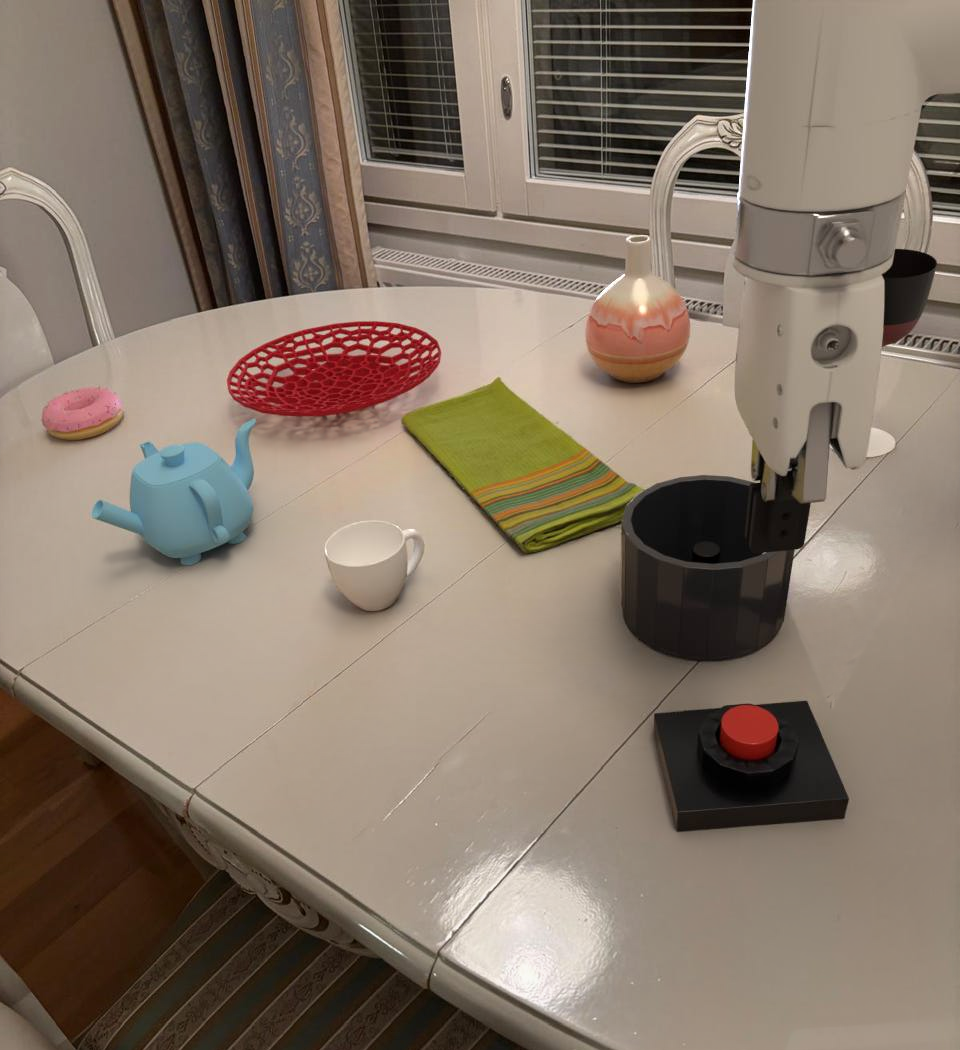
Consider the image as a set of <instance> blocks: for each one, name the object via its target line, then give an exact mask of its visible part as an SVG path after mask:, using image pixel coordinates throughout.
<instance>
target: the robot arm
mask: <svg viewBox="0 0 960 1050" xmlns="http://www.w3.org/2000/svg"><path fill="white" fill-rule="evenodd" d="M751 11H752V12H751V23H750V24H751V25H750V34H749V35H750V36H749V51H748V63H747V75H746V87H745V88H746V89H745V99H744V113H743V114H744V115H743V126H742V142H741V152H740V153H741V155H740V166H739V167H740V168H739V183H738V192H737V199H736V200H737V202H736V214H735V227H734V239H733V255H732V266H733V268H734V269H735V271H736V272H737V273H739V274H740V275H742V276H743V277H745V279H744V283H743V284H744V285H743V286H744V287H743V293H742V301H741V307H740V316H739V323H738V331H737V342H736V352H735V362H734V363H735V365H734V400H735V404H736V408H737V411H738V413H739V415H740V417H741V420H742V421H743V423H744V425H745V428H746V429H747V431H748V433H749V435H750V437H751V440H752V442H751V459H750V475H751V479H752V482H755V483H750V489H749V498H748V508H747V517H746V526H745V537H746V540H747V542H749V546H750V549H751V551H752V552H753V553H765V552H776V551H787V550H795V551H797V550H800V549H802V548H803V547H804V546H805V541H806V537H807V536H806V535H807V531H808V530H807V529H808V523H809V517H810V511H811V504H812V503H813V504H814V503H825V501H826V499H827V489H828V478H829V477H828V475H829V464H830V463H829V462H830V461H829V460H830V449H831V448H830V445H831V446H832V448H833V449H832V451H834V453H835V454H836V455H837V457H838V459H839V460H840V462H841V463H842V465H843V467H845V469H846V470H847V469H850V470H859V469H860V468H861V467H862V466H863V465H864V463H865V462H866V460H867V457H866V456H867V451H868V446H869V440H870V433H871V427H873V419H874V413H875V406H876V398H877V393H878V392H877V391H878V383H879V376H880V369H881V361H882V360H881V359H882V349H883V347H882V339H883V324H884V279H883V277H882V275H881V274H883V273H885V272H886V271H887V270H888V269H889V268H890V267H891V265H892V263H893V258H894V251H895V249H896V246H897V243H898V242H897V241H898V237H899V230H900V225H901V219H902V214H903V209H904V204H905V198H906V194H907V187H908V181H909V177H910V173H911V172H910V171H911V165H912V160H913V156H914V149H915V146H916V145H915V144H916V138H917V134H918V128H919V123H920V118H921V113H922V108H923V104H924V103H925V101H927V100H928V99H929V98H930V97H932V96H935V95H948V94H960V0H752V10H751ZM757 481H759V482H757Z"/></svg>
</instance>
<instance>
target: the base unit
mask: <svg viewBox="0 0 960 1050" xmlns="http://www.w3.org/2000/svg"><path fill="white" fill-rule="evenodd" d="M740 705H753V706H758V707H761V708H763V709H765V710H767V711H768V712H770V713H771V714H772V715H773V716H774V717H775V718H776V720H777V722H778V727H779V728H778V735H777V741H776V746H775V749H774V751H773V752H772V753H771V754H770V755H768V756H767V757H765V758H762V759H758V760H744V759H741V758H738V757H734V756H732V755H731V754H729V753H728V752H727V751H726V750H725V749H724V748H723V746H722V745H721V742H720V729H721V720H722V717H723V715H724V714H725V713H726V712H727V711H728V710H729V709H731V708H733V707H736V706H740ZM818 725H819V724H818V722H817V720H816V718H815V716H814V714H813V711H812V709H811V706H810V704H809V702H808V700H795V701H784V702H773V703H772V702H771V703H762V704H761V703H760V704H754V703H737V704H726V705H723V706H721V707H714V708H713V707H711V708H700V709H690V710H679V711H678V710H677V711H667V712H665V711H664V712H655V713H653V729H652V731H653V732H652V733H653V736H654V741H655V746H656V749H657V753H658V759H659V763H660V767H661V771H662V775H663V779H664V784H665V788H666V792H667V797H668V799H669V806H670V809H671V814H672V818H673V822H674V826H675V831H676V832H689V831H700V830H714V829H725V828H726V829H727V828H740V827H751V826H752V827H753V826H763V825H765V826H767V825H777V824H778V825H779V824H790V823H802V822H813V821H814V822H815V821H827V820H828V821H829V820H839V819H840V820H841V819H845V817H846V813H847V810H848V805H849V801H850V797H849V795H848V792H847V790H846V788H845V785H844V783H843V781H842V778H841V776H840V774H839V772H838V771H839V770H838V769H837V767H836V764H835V762H834V760H833V758H832V757H833V756H832V755H831V753H830V750H829V748H828V746H827V744H826V742H825V739H824V737H823V735H822V734H823V733H822V732H821V729H820V727H819V726H818Z"/></svg>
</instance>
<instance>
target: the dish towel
mask: <svg viewBox="0 0 960 1050" xmlns="http://www.w3.org/2000/svg"><path fill="white" fill-rule="evenodd" d="M400 422H401V424H402V425H403V426H404V427H405V428H406V429H407V430H408V431H409V432H410V433H411V434H412V435H413V436H414V437H415V439H417V440H418V441H419V442H420V443H421V444H422V445H423V446H424V447H425V449H427V450H428V451H429V452H430V453H431V454H432V455H433V456H434V458H435V459H436V460H437V462H439V463H440V464H441V465H442V466H443V467H444V469H445V470H447V472H448V473H449V474H450V475H451V476H452V478H453V479H454V480H455V481H456V482H457V484H459V485H460V486H461V488H462V489H463V490H464V491H465V492H466V493H467V494H468V495H469V496H470V497H471V498H472V499H473V501H475V502H476V504H478V505H479V507H480V508H481V509H482V510H483V511H484V512H485V513H486V514H487V515H488V516H489V518H490V519H492V521H493V522H494V523H495V524H496V525H497V526H498V527H499V528H500V529H501V530H502V532H503V533H505V534H506V536H507V537H508V538H509V539H510V540H512V541H513V542H514V543H515V544H516V545H517V546H518V548H519V549H520V550H521V551H522V552H523V553H526V554H527V553H528V554H529V553H536V552H541V551H544V550H547V549H550V548H553V547H556V546H558V545H560V544H562V543H565V542H568V541H570V540H573V539H576V538H579V537H581V536H584V535H589V534H591V533H593V532H596V531H599V530H602V529H604V528H607V527H610V526H612V525H615V524H617V523H620V522H622V517H623V514H624V511H625V508H626V505H627V504H628V503H629V502H630V501H631V500H632V499H633V498H634V497H635V496H636V495H637V494H638V493H640V492H642V491H644V490H645V489H644V488H643V487H641V486H638V485H637V484H635V483H634V482H633V483H632V482H628V481H627V480H625V479H624V478H623V477H622V476H621V475H620V474H618V473H617V472H616V471H614V470H613V469H612V468H611V467H609V466H608V465H607V464H606V463H604V462H603V461H602V460H601V459H599V458H598V457H597V456H595V455H594V454H593V453H592V452H591V451H590V450H589V449H588V448H586V447H585V446H583V445H582V444H581V443H579V442H578V441H577V440H576V439H575V438H573V437H571V436H570V434H568V433H567V432H565V430H563V429H562V428H560V427H559V426H557V425H555V424H554V423H553V422H552V421H551V420H550V419H548V418H547V417H545V416H544V414H541V413H540V412H539V411H538V410H536V409H535V408H534V407H533V406H531V405H530V404H529V403H528V402H527V401H525V400H524V399H522V398H521V397H520V396H519V395H517V394H516V393H515V392H514V391H512V390H511V388H509V387H508V385H506V384H505V382H504V381H503V380H502V379H501V377H500V376H497V377H496V378H495V379H494V380H493V381H492V382H490V383H488V384H486V385H483V386H480V387H478V388H475V389H473V390H470V391H468V392H465V393H462V394H460V395H457V396H454V397H450V398H447V399H444V400H441V401H438V402H435V403H431V404H429V405H425V406H421V407H418V408H416V409H414V410H412V411H409V412H407V413H405V414H404V415H403V416H402V418H401V419H400Z"/></svg>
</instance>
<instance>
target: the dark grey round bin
mask: <svg viewBox="0 0 960 1050" xmlns="http://www.w3.org/2000/svg"><path fill="white" fill-rule="evenodd" d="M750 483H756V481H751V480H747V479H743V478H738V477H734V476H729V475H728V476H727V475H715V474H714V475H713V474H699V475H690V476H689V475H688V476H680V477H675V478H671V479H668V480H664V481H661V482H657V483H655V484H653V485H651V486H649V487H647V488H646V489H644V491H642V492H640V493H638V494H637V495H636V496H635V497H634V498H633V499H632V500H631V501H630V502H629V503H628V504H627V505H626V508H625V511H624V514H623V517H622V521H621V532H620V533H621V538H620V539H621V540H620V541H621V542H620V543H621V546H620V547H621V549H620V550H621V552H620V554H621V555H620V557H621V559H620V561H621V562H620V564H621V566H620V568H621V569H620V570H621V571H620V574H621V575H620V577H621V579H620V583H621V584H620V589H621V590H620V591H621V593H620V603H621V604H620V606H621V611H622V612H621V613H622V619H623V621H624V624H625V626H626V627H627V629H628V630H629V632H630V633H631V634H632V635H633V636H634V637H635V638H636V640H638V641H639V642H641V643H642V644H644V646H646V647H648V648H650V649H651V650H653V651H655V652H658V653H660V654H663V655H665V656H668V657H672V658H674V659H679V660H684V661H690V662H698V663H699V662H700V663H701V662H702V663H713V662H717V663H718V662H725V661H726V662H727V661H731V660H737V659H740V658H743V657H747V656H749V655H752V654H754V653H757V652H759V651H761V650H762V649H764V648H765V647H766V646H768V645H769V644H770V643H772V642H773V641H774V639H775V638H776V637H777V636H778V635H779V633H780V631H781V629H782V627H783V624H784V622H785V616H786V611H787V604H788V603H787V602H788V597H789V592H790V591H789V589H790V583H791V576H792V572H793V571H792V570H793V564H794V557H795V551H796V550H787V551H776V552H765V553H753V552H752V551H751V549H750V546H749V542H747V540H746V537H745V526H746V517H747V508H748V498H749V489H750ZM703 541H709V542H713V543H716V544H717V545H718V546H719V547H720V561H719V563H718V564H708V563H696V562H692V549H693V546H694V545H695V544H696V543H699V542H703Z"/></svg>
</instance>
